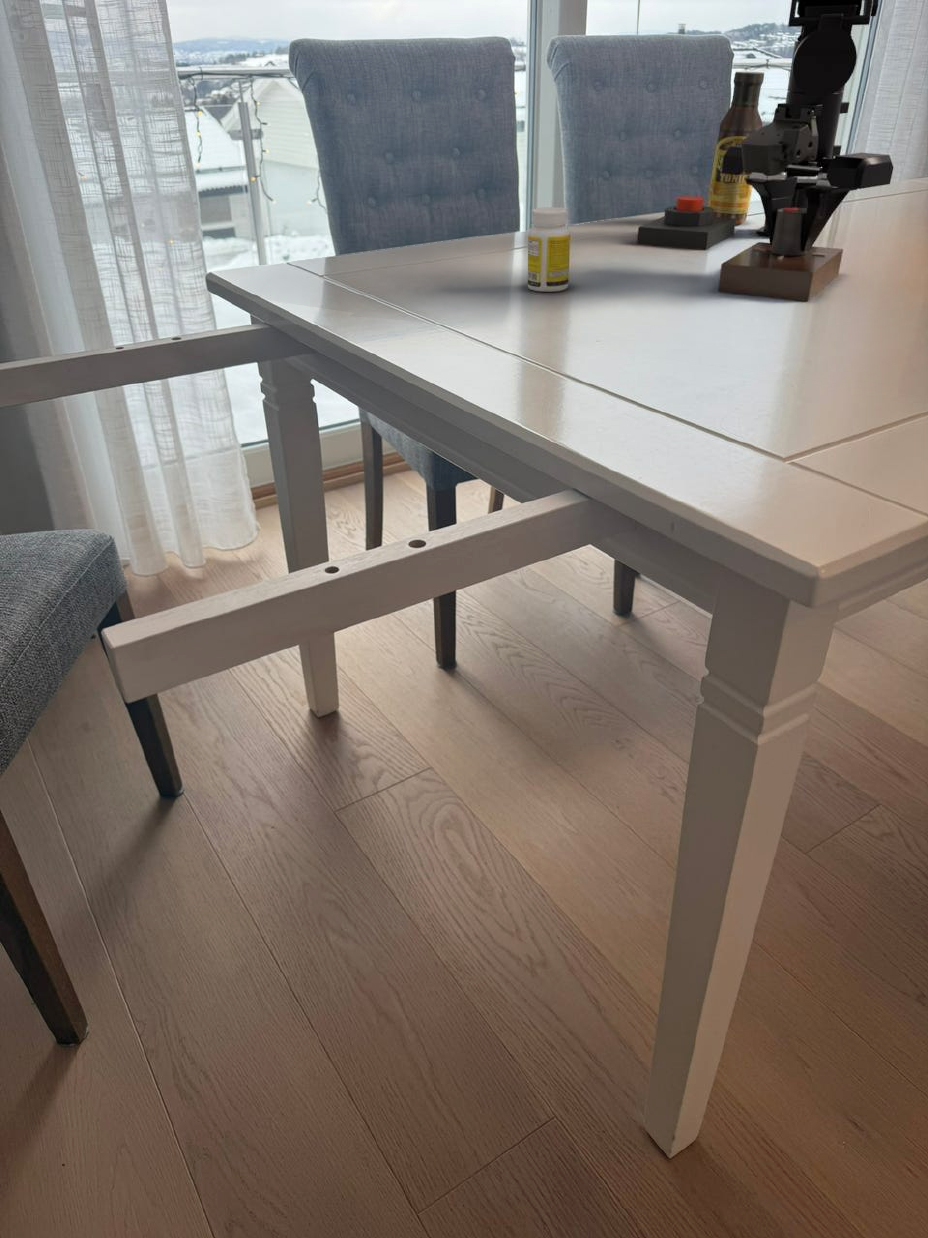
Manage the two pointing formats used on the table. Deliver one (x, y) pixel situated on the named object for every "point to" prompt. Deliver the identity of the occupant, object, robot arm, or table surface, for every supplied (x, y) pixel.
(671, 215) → the button box
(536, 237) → the supplement bottle
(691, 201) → the button
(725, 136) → the sauce bottle
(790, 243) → the knob
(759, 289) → the knob panel
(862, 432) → the table surface
